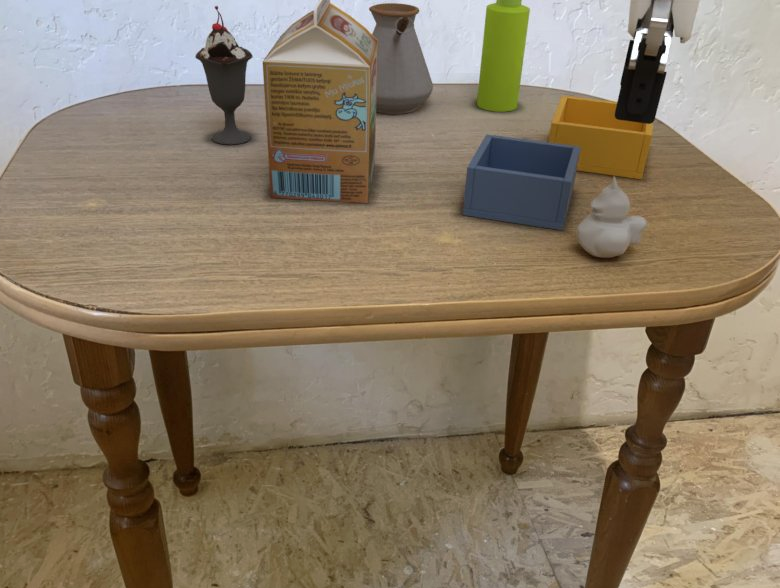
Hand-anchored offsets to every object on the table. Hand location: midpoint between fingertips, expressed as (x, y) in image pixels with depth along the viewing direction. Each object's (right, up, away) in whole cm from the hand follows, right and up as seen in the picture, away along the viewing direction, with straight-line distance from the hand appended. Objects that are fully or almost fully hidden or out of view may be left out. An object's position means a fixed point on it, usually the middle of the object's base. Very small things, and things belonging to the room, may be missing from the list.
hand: (635, 103), depth 67 cm
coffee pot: (-21, +13, +40) cm, 47 cm away
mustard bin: (+5, +5, +30) cm, 31 cm away
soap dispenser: (-5, +17, +46) cm, 49 cm away
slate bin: (-7, -4, +18) cm, 20 cm away
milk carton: (-29, -1, +21) cm, 36 cm away
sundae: (-42, +7, +31) cm, 52 cm away
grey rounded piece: (0, -12, +9) cm, 15 cm away
